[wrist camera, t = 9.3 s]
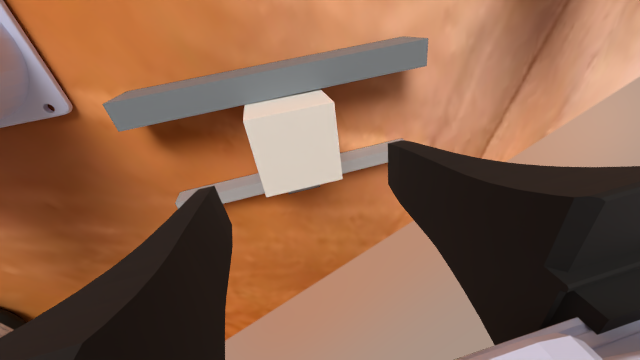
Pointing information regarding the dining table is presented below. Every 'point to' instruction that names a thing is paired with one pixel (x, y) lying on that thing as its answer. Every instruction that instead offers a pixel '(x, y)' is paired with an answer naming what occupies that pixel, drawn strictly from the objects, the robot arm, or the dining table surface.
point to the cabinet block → (294, 141)
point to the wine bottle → (9, 322)
